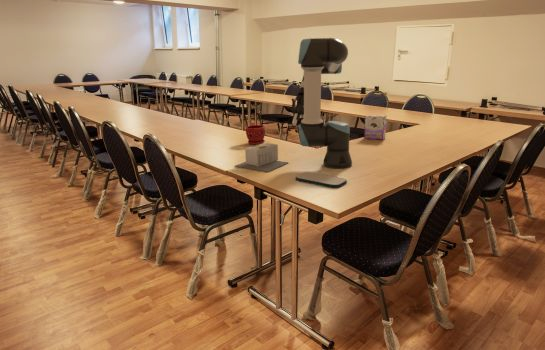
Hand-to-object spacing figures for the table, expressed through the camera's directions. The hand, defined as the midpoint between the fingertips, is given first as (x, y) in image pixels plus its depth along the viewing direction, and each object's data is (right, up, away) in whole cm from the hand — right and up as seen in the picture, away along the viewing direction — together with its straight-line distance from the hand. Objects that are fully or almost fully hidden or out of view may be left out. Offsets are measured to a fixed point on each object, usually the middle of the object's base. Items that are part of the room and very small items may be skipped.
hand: (293, 124), depth 228 cm
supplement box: (-13, -17, -10) cm, 23 cm away
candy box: (+59, -5, +42) cm, 73 cm away
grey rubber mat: (-19, -25, -18) cm, 36 cm away
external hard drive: (+10, -34, -48) cm, 59 cm away
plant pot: (-24, -9, +36) cm, 44 cm away
